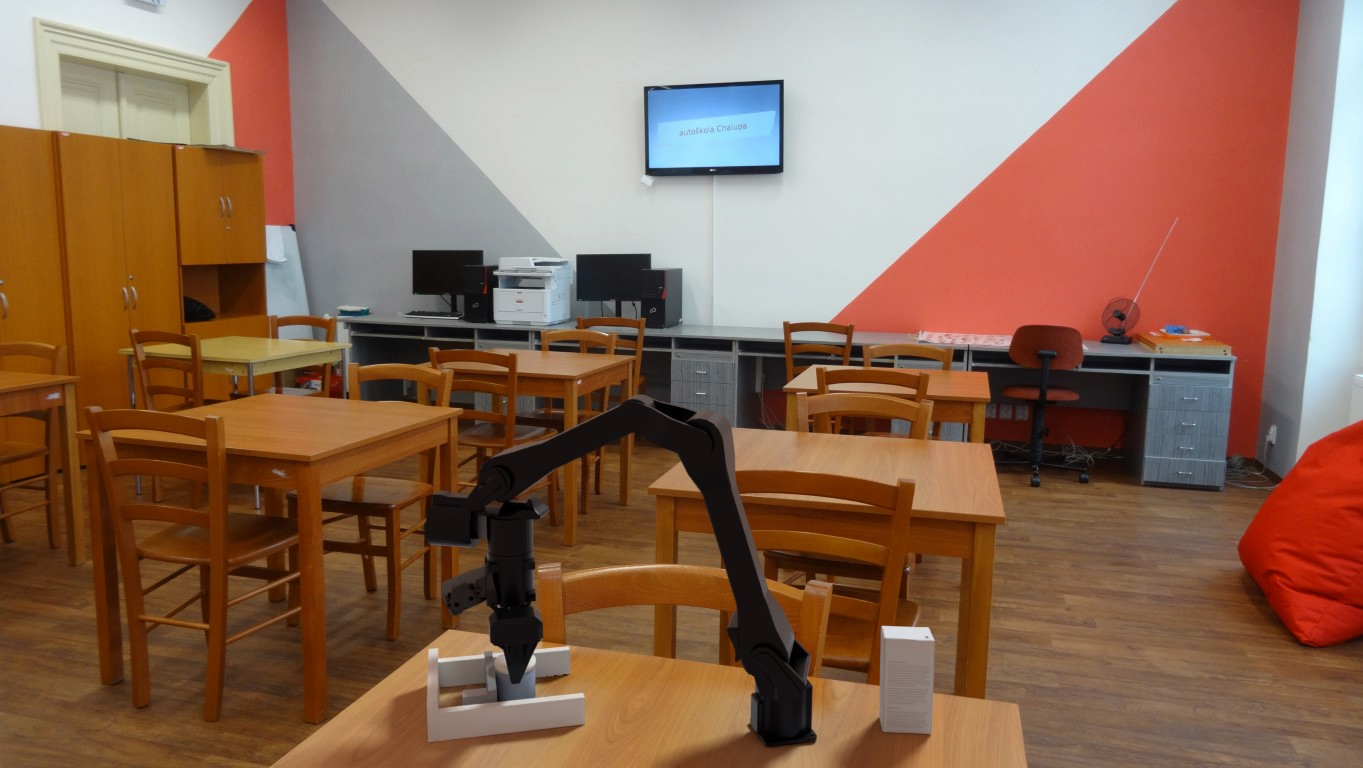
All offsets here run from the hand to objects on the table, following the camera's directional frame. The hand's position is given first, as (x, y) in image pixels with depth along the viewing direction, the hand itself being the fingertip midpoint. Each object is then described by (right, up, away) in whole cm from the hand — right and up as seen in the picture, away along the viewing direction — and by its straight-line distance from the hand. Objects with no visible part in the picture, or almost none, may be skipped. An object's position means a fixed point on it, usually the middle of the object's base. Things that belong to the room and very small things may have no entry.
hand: (512, 667), depth 122 cm
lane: (-1, -5, 0) cm, 5 cm away
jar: (0, -5, +1) cm, 5 cm away
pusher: (-4, -4, 0) cm, 6 cm away
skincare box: (+49, -6, -5) cm, 49 cm away
